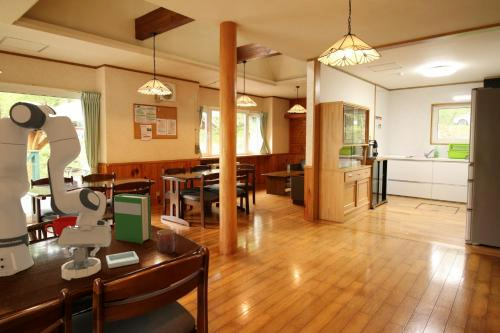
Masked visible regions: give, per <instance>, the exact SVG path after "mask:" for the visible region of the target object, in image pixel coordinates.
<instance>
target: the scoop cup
mask: <svg viewBox="0 0 500 333" xmlns="http://www.w3.org/2000/svg"><path fill="white" fill-rule="evenodd" d="M88 248H89V247H75V248H74V249H73V250H72V252H73V253H72V255H73V256H72V257H73V260H74V270H82V269H87V268H89V267H88V258H89V249H88Z"/></svg>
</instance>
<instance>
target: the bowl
mask: <svg viewBox="0 0 500 333" xmlns="http://www.w3.org/2000/svg"><path fill="white" fill-rule="evenodd" d="M88 267H89V268H87V269H82V270H74V259H73V260H70V261H67V262H65V263H64V264H62V265H61V279H64V280H67V281H71V280H72V279H79V278H80V279H81V278H85V277H89V276H92V275H94V274H97V273H98V272H99V271H100V270H101V269H102V263H101V260H100V258H97V257H88Z"/></svg>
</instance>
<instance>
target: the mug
mask: <svg viewBox="0 0 500 333" xmlns="http://www.w3.org/2000/svg"><path fill="white" fill-rule="evenodd" d="M156 236H157V237H156V238H157V240H158V252H159V253H160V254H168V255H170V254H173V253H174V251H175V236H176V230H175V229H172V228H164V229H160V230H157V231H156Z"/></svg>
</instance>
